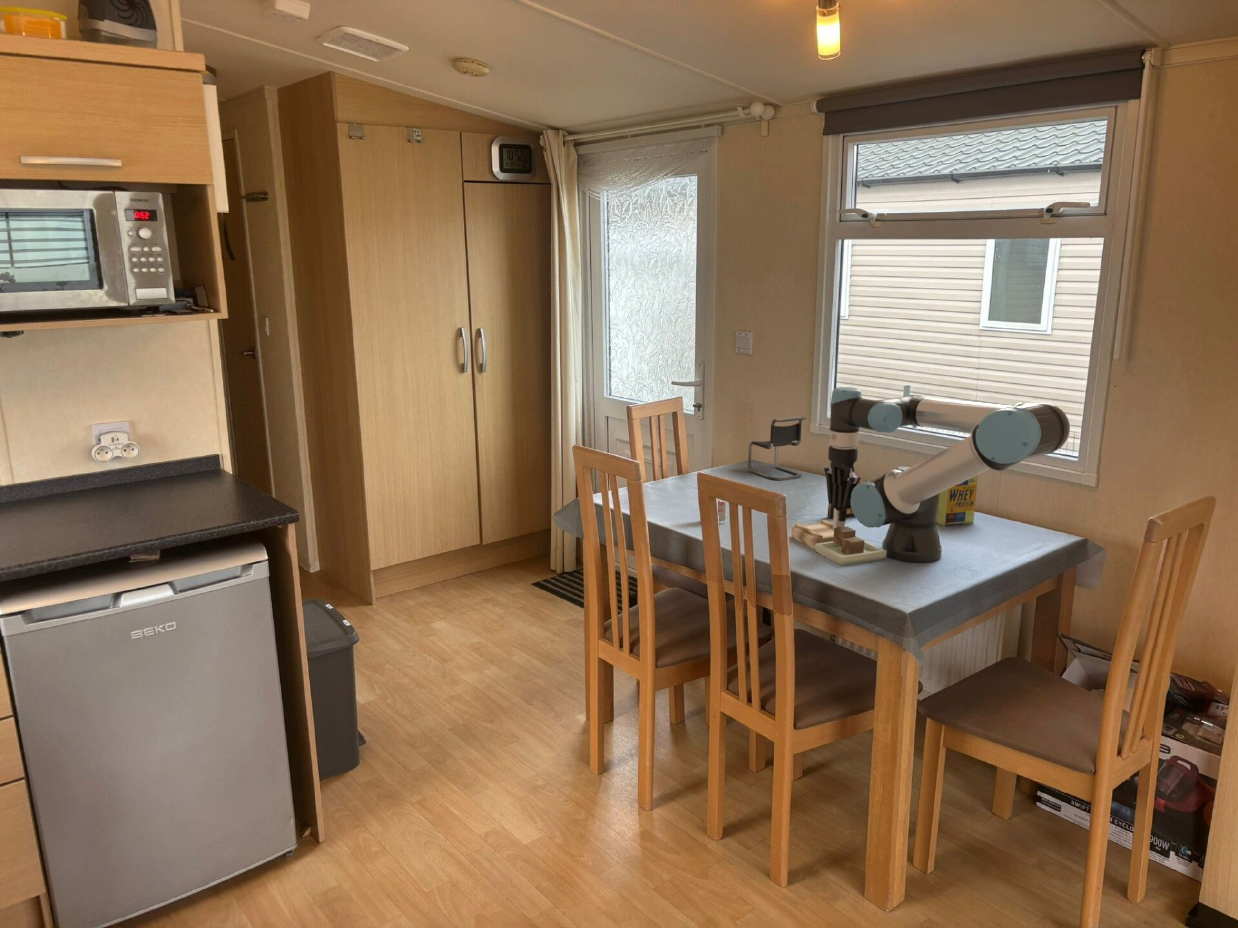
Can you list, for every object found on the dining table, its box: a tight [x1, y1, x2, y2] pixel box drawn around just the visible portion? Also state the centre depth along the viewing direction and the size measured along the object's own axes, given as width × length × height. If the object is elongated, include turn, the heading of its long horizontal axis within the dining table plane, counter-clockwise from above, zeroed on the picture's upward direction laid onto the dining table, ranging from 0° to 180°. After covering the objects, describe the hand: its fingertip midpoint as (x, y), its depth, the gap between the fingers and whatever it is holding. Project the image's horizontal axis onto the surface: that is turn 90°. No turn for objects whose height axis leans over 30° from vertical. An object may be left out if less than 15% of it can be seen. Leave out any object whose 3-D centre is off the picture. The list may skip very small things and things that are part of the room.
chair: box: [747, 415, 807, 481], centre depth 325 cm, size 13×17×22 cm
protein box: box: [937, 474, 979, 527], centre depth 273 cm, size 10×15×16 cm
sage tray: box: [814, 539, 887, 566], centre depth 241 cm, size 12×14×2 cm
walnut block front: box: [842, 535, 865, 555], centre depth 239 cm, size 4×4×4 cm
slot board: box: [790, 519, 834, 550], centre depth 252 cm, size 12×12×4 cm
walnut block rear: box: [833, 525, 856, 546], centre depth 243 cm, size 4×4×4 cm
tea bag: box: [718, 501, 726, 522], centre depth 269 cm, size 4×7×10 cm, turn 104°
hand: (838, 531), depth 245 cm, fingers closed
